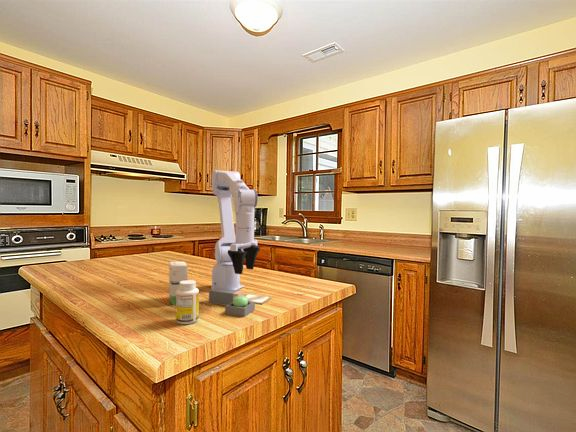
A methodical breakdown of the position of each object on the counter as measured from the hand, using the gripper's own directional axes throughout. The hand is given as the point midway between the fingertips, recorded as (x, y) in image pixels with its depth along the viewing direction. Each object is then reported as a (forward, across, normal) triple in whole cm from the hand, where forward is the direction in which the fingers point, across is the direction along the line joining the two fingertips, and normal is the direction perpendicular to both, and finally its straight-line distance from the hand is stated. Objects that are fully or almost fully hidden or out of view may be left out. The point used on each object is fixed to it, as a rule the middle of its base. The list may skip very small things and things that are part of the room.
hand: (244, 271), depth 96 cm
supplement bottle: (+10, -20, +6) cm, 23 cm away
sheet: (+10, +3, -2) cm, 10 cm away
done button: (+8, -9, -4) cm, 13 cm away
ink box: (+10, -7, +20) cm, 23 cm away
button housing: (+10, -9, -4) cm, 13 cm away
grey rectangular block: (+10, -3, +4) cm, 11 cm away
